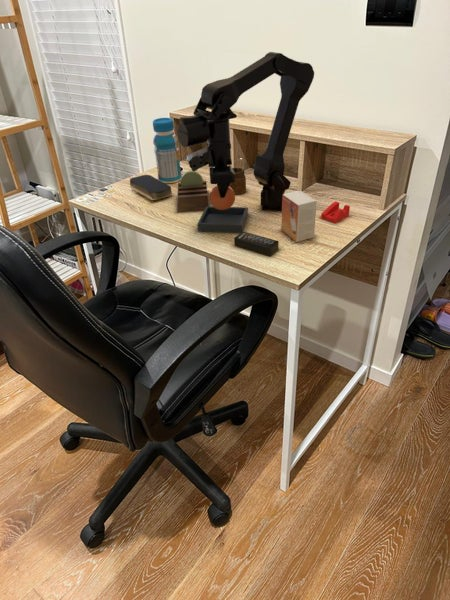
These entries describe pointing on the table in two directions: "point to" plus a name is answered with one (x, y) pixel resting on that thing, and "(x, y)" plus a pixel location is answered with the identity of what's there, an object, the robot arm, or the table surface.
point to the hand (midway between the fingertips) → (222, 196)
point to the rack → (192, 198)
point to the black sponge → (150, 187)
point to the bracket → (335, 213)
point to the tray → (223, 220)
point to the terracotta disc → (222, 202)
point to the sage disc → (191, 179)
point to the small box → (298, 215)
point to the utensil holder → (239, 180)
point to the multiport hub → (256, 243)
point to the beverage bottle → (166, 151)
